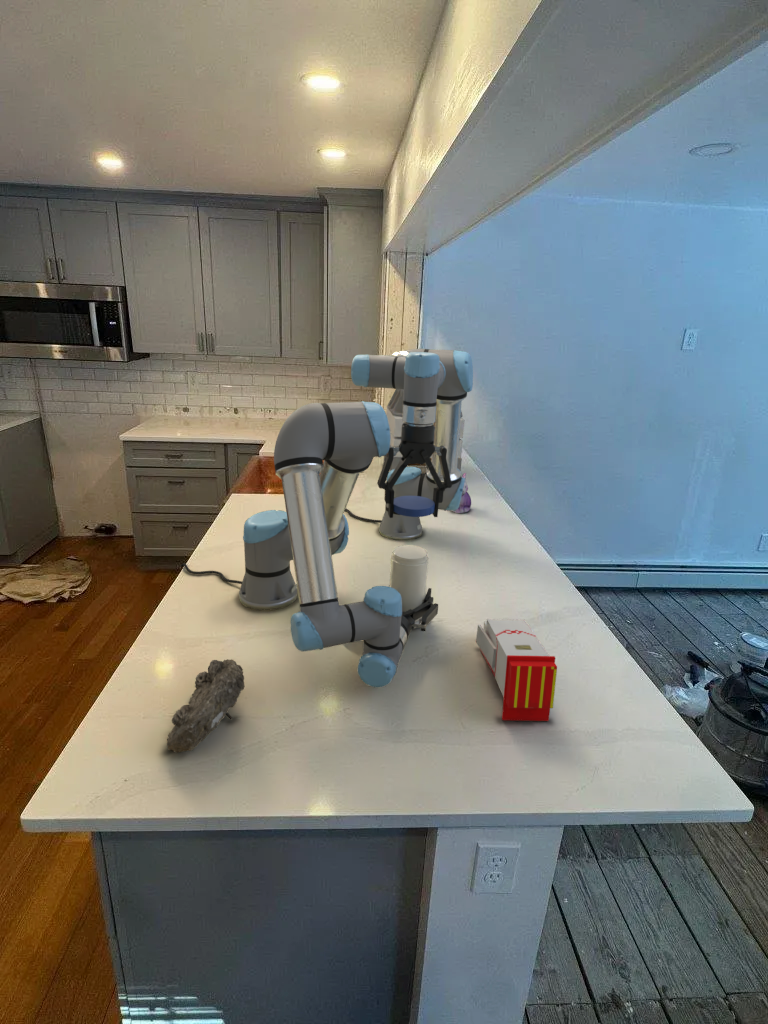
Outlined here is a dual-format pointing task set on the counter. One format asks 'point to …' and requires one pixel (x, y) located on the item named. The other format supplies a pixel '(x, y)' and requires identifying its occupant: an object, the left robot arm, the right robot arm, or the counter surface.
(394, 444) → the light grey boxy frame
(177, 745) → the fossil
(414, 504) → the lid
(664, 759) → the counter surface
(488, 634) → the toy
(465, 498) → the figurine
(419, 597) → the jar
